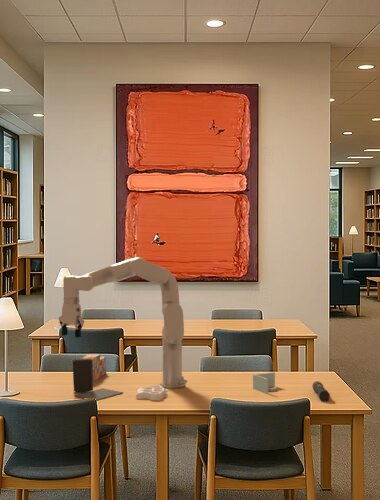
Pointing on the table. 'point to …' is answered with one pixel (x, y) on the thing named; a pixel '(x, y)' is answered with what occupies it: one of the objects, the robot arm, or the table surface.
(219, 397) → the table surface
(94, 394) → the mat
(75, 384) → the card reader
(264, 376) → the right angle wall
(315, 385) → the flashlight
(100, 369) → the stack of blocks
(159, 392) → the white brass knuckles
